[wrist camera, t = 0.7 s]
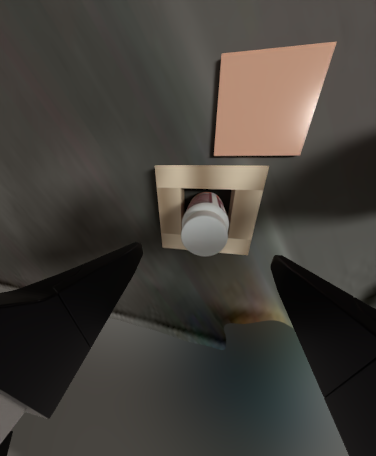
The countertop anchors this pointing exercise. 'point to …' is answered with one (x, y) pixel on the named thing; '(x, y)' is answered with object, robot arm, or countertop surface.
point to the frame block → (211, 179)
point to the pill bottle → (205, 225)
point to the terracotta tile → (269, 99)
